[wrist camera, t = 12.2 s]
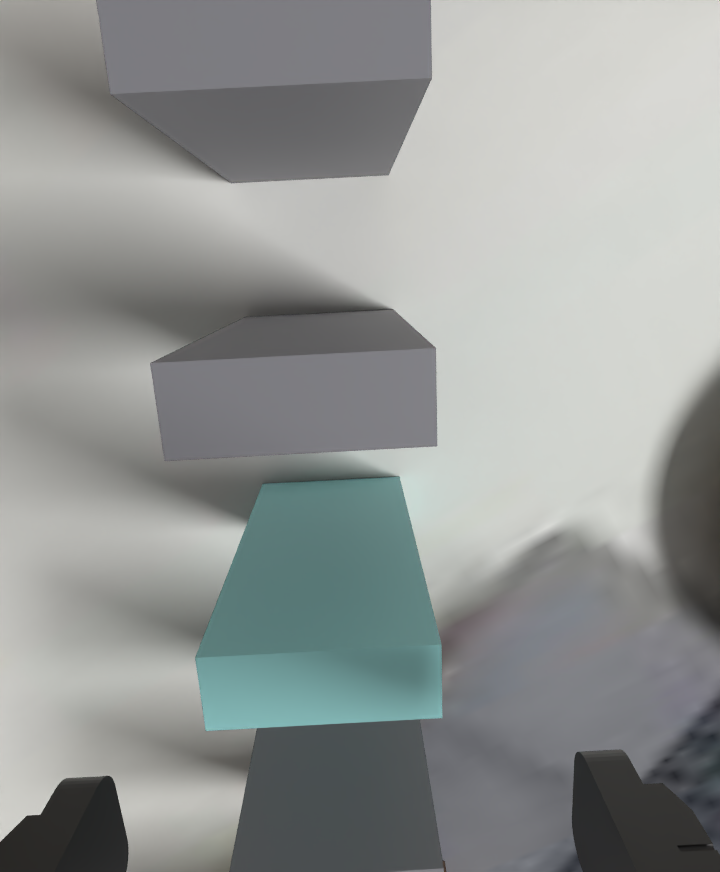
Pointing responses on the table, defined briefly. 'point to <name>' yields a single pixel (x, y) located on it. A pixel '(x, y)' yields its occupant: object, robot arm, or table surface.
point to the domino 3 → (323, 613)
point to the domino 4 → (338, 801)
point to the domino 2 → (298, 387)
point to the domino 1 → (273, 80)
